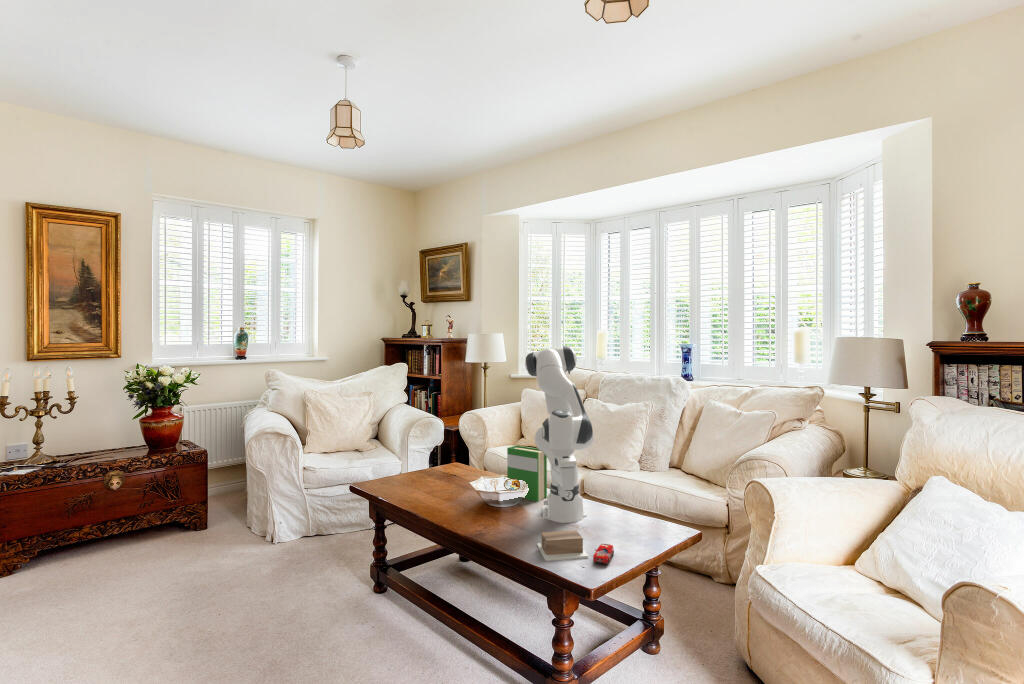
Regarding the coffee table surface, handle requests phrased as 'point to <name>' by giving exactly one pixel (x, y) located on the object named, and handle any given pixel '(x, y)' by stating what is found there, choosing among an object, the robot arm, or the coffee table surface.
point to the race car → (603, 553)
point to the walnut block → (561, 542)
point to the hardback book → (528, 470)
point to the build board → (562, 555)
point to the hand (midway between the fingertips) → (561, 496)
